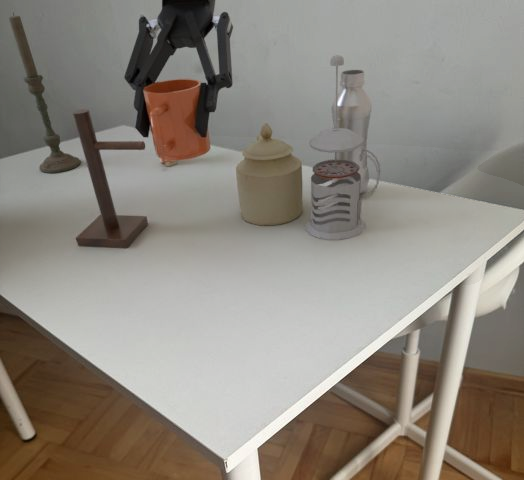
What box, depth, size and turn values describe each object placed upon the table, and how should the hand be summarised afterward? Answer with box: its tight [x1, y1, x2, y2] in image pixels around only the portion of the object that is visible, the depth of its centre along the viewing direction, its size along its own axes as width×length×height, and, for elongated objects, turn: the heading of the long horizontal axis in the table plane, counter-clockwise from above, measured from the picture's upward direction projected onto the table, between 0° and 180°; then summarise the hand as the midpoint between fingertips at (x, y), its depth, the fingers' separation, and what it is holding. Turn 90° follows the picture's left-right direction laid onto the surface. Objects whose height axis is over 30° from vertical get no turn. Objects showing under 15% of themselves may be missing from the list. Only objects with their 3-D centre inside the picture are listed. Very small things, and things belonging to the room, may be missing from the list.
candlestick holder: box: [8, 11, 81, 174], centre depth 113 cm, size 9×9×30 cm
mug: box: [143, 78, 211, 161], centre depth 76 cm, size 12×8×9 cm, turn 166°
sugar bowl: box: [235, 122, 304, 226], centre depth 91 cm, size 15×11×15 cm
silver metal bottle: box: [331, 69, 372, 195], centre depth 92 cm, size 6×7×20 cm
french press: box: [305, 54, 382, 241], centre depth 80 cm, size 10×12×25 cm
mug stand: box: [72, 108, 149, 249], centre depth 85 cm, size 14×9×20 cm, turn 77°
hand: (170, 132), depth 76 cm, fingers closed on mug, 8 cm apart
